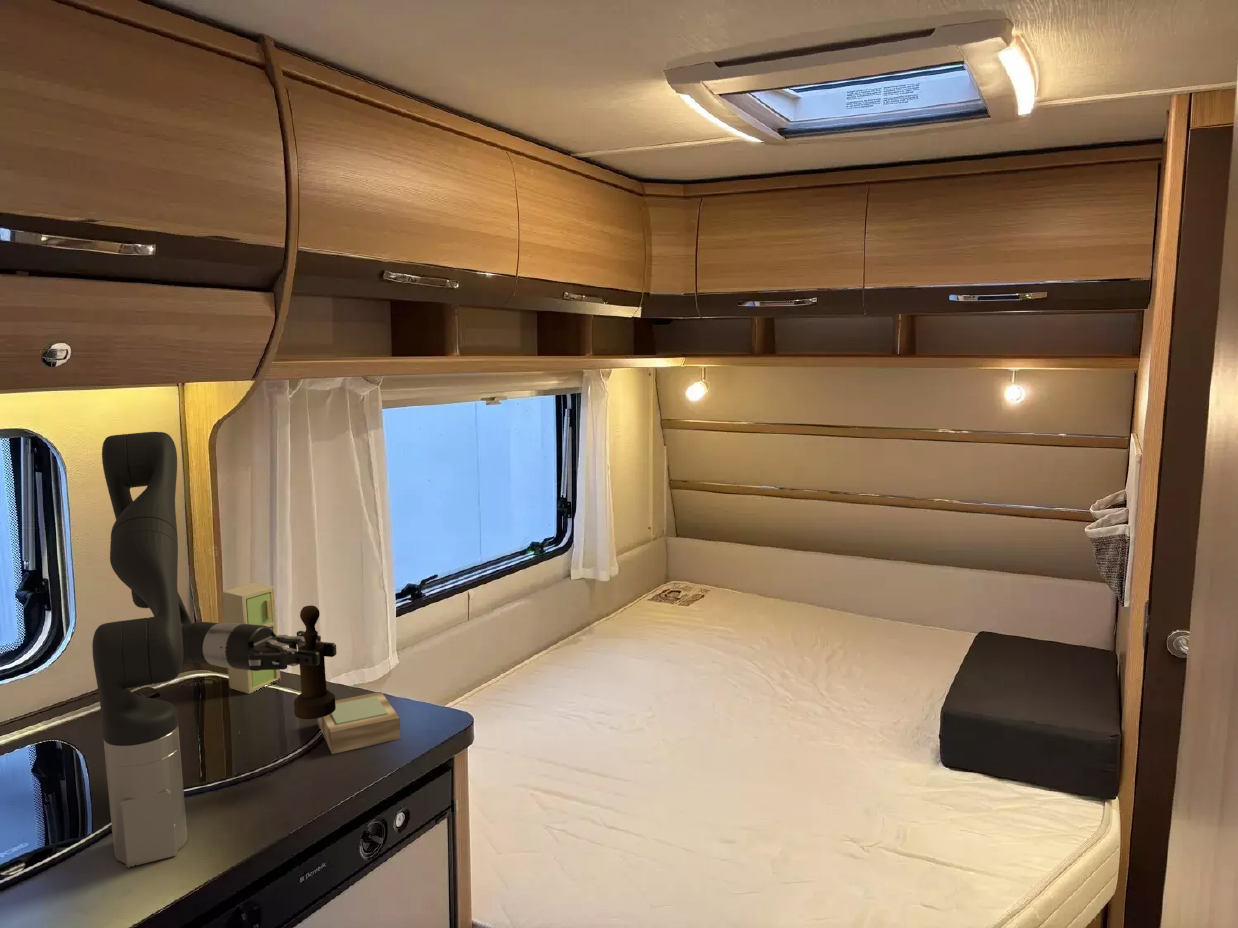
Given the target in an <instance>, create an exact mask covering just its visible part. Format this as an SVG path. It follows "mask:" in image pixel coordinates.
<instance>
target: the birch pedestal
mask: <svg viewBox="0 0 1238 928" xmlns="http://www.w3.org/2000/svg"><path fill="white" fill-rule="evenodd" d="M335 705H336V709H335V711H334V712H333V713H331V714H329V715H327V716H325V717H321V718H317V725H318V727H319V730H320V729H321V730H320V732H321V731H322V732H321V734H322V733H323V734H322V736H323V735H324V736H323V738H324V739H325V741H326V744H327V746H328V749H329V750H330V753H331V754H332V755H335V754H338V753H342V752H343V753H344V752H347V751H351V750H356V749H361V748H366V747H370V746H374V745H379V744H383V743H388V742H392V741H397V740H401V739H402V738H401V722H400V721H401V720H400V719H401V718H400V717H399V715H398V714H397V712H396V710H395V709H394V707H393V706H392V705H391V704H390V702H389V701H388V699H387V698H386V697H385V695H384V694H383V692H382V691H378V692H372V693H367V694H362V695H357V696H353V697H352V696H351V697H346V698H342V699H341V698H340V699H337V700H336V699H335Z"/></svg>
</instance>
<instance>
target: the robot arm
mask: <svg viewBox="0 0 1238 928" xmlns="http://www.w3.org/2000/svg"><path fill="white" fill-rule="evenodd" d="M101 459H102V460H101V461H102V467H103V468H102V469H103V475H104V478H105V482H106V485H107V491H108V495H109V498H110V503H111V507H112V510H113V514H114V517H115V522H114V523H113V525H112V528H111V532H110V548H109V549H110V550H109V563H110V566H111V569H112V570H113V572H114V573H115V575H116V577H118V578H119V580H120V581H121V582H122V583H123V584H124V585H125V586H126V587H127V588H129V589H130V591H131V598H132V602H133V603H134V606H135V607H137V608H140V609H149V610H150V611H151V612H152V614H153V616H149V617H141V618H134V619H133V618H132V619H126V620H118V621H111V622H106V623H101V624H100V625H99V626H97V628H96V629H95V631H94V634H93V637H92V644H91V645H92V646H91V647H92V660H93V667H94V673H95V680H96V685H97V693H98V699H99V704H100V705H99V706H100V714H101V715H100V716H101V726H102V727H101V728H102V738H103V747H104V748H103V749H104V758H105V771H106V780H107V789H108V790H107V792H108V801H109V802H108V803H109V811H110V821H111V822H110V823H111V832H112V841H113V842H112V843H113V853H114V858H115V859H116V860H117V861H118V860H119V861H121V862H120V863H122V862H123V864H125V867H126V868H127V867H128V868H131V867H130V866H132V867H135V865H136V866H139V865H144V864H149V863H151V862H155V861H160V860H163V859H167V858H172V857H174V856H175V857H176V856H177V854H178V851H179V850H180V849H181V848H182V847H183V846H184V845H185V844H186V843H187V840H188V830H187V815H186V805H185V793H184V792H185V791H184V782H183V781H184V780H183V769H182V768H183V767H182V755H181V745H180V744H181V743H180V732H179V720H178V710H177V708H176V706H175V705H174V704H173V703H171V702H169V701H166V700H164V699H157V698H152V697H147V696H143V695H140V694H137V693H135V692H133V691H132V690H129V689H132V688H135V687H143V686H149V685H150V686H151V685H153V684H154V685H156V684H162V683H166V682H167V683H168V682H170V681H173V680H176V678H177V677H178V676H179V675H180V673H181V672H182V670H183V669H182V668H183V665H184V664H185V663H194V664H202V665H211V666H216V667H221V668H225V669H228V668H233V669H242V670H252V671H260V670H286V669H288V666H290V667H296V666H298V665H299V666H300V665H309V666H317V665H319V664H320V655H319V652H316V651H306V650H299V651H298V648H299V647H301V646H303V645H306V642H305V639H304V636H303V633H304V632H305V631H306V630H305V631H304V630H299V631H297V632H296V636H295V635H292V636H291V635H290V636H289V635H288V634H277V636H276V635H275V634H274V632H273V631H272V630H271V629H270V628H269V627H267V626H264V625H252V624H241V623H224V622H223V623H221V622H211V621H210V622H209V621H195V622H192V620H191V618H190V615H189V613H188V611H187V609H186V607H185V604H184V602H183V600H182V597H181V596H180V593H179V591H178V569H179V568H178V567H179V566H178V562H179V560H178V559H179V544H178V543H179V541H178V540H179V539H178V525H177V514H176V513H177V512H176V491H177V490H176V489H177V477H178V453H177V448H176V444H175V441H174V439H173V438H172V436H171V435H170V434H168V433H167V432H163V431H148V432H147V431H145V432H136V433H135V432H134V433H121V434H112V435H108V436H107V437H105V438H104V441H103V442H102V447H101ZM140 487H145V489H144V490H143V491H142V492H141V493H140V494H139V495H138V496H137V497H136V498H135V499H134V500H133V498H132V495H131V491H130V490H131V489H134V488H140ZM316 643H319V644H323V645H324V657H328V658H333V657H335V656H336V655H337V644H336V643H335V642H329V641H328V642H327V641H322V636H321V635H318V636H317V641H316ZM119 861H118V862H119Z"/></svg>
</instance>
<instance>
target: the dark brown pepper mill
mask: <svg viewBox="0 0 1238 928" xmlns="http://www.w3.org/2000/svg"><path fill="white" fill-rule="evenodd" d="M320 616H321V615H320V610H319V609H318V607H317V606H316V605H305V606H303V607H302V608H301V610H300V612H299V618H300V620H301V621H302V623H303V625H304V626H305V632H304V633H303V636H304V639H305V642H306V645H303V646H301V647H299V648H298V647H297V651H299V650H306V651H316V652H319V655H320V664H319V665H317V666H309V665H299V674H300V687H301V688H300V691H301V693H299V694H298V696H297V697H296V698H295V699H294V701H293V707H294V708H293V709H294V716H295V717H296V718H297V719H300V720H301V719H302V720H314V719H315V720H316V719H318V718H321V717H325V716H327V715H329V714H331V713H333V712H334V711H335V709H336V705H335V701H336V696H335V694H334V693H333V692H331V691H330V690H328V688H327V680H326V679H327V678H326V677H327V675H326V666H325V665H326V662H325V661H326V659H325V656H324V645H323V644H319V643H316V641H317V636H318V634H319V632H318V630H316V624H317V622H318V620H319V617H320Z"/></svg>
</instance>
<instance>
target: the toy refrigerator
mask: <svg viewBox="0 0 1238 928" xmlns="http://www.w3.org/2000/svg"><path fill="white" fill-rule="evenodd" d="M221 597H222V598H221V599H222V610H223V611H222V612H223V623H241V624H252V625H264V626H267V627H269V628H270V629H271V630H272V631H273V632H274V634H275V635H276V636H277V635H278V628H277V625H278V624H277V613H276V612H277V611H276V600H275V599H276V598H275V597H276V596H275V587H274V586H273V585H267V584H264V583H263V584H262V583H257V582H250V583H248V584H244V585H241V586H237V587H234V588H229V589H226V590H223V591H221ZM227 671H228V672H227V674H228V685H229V688H230V689H233V690H236V691H238V692H241V693H245V694H248V695H250V694H253V693H255V692H256V690H257V691H260V690H261V689H260V688H262V687H263V686H265V685H267V684H270V683H271V682H273V681H276V680H278V679H279V678H280V679H281V671H280V670H260V671H252V670H242V669H233V668H227ZM259 689H260V690H259ZM262 689H263V688H262ZM254 691H255V692H254Z"/></svg>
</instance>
